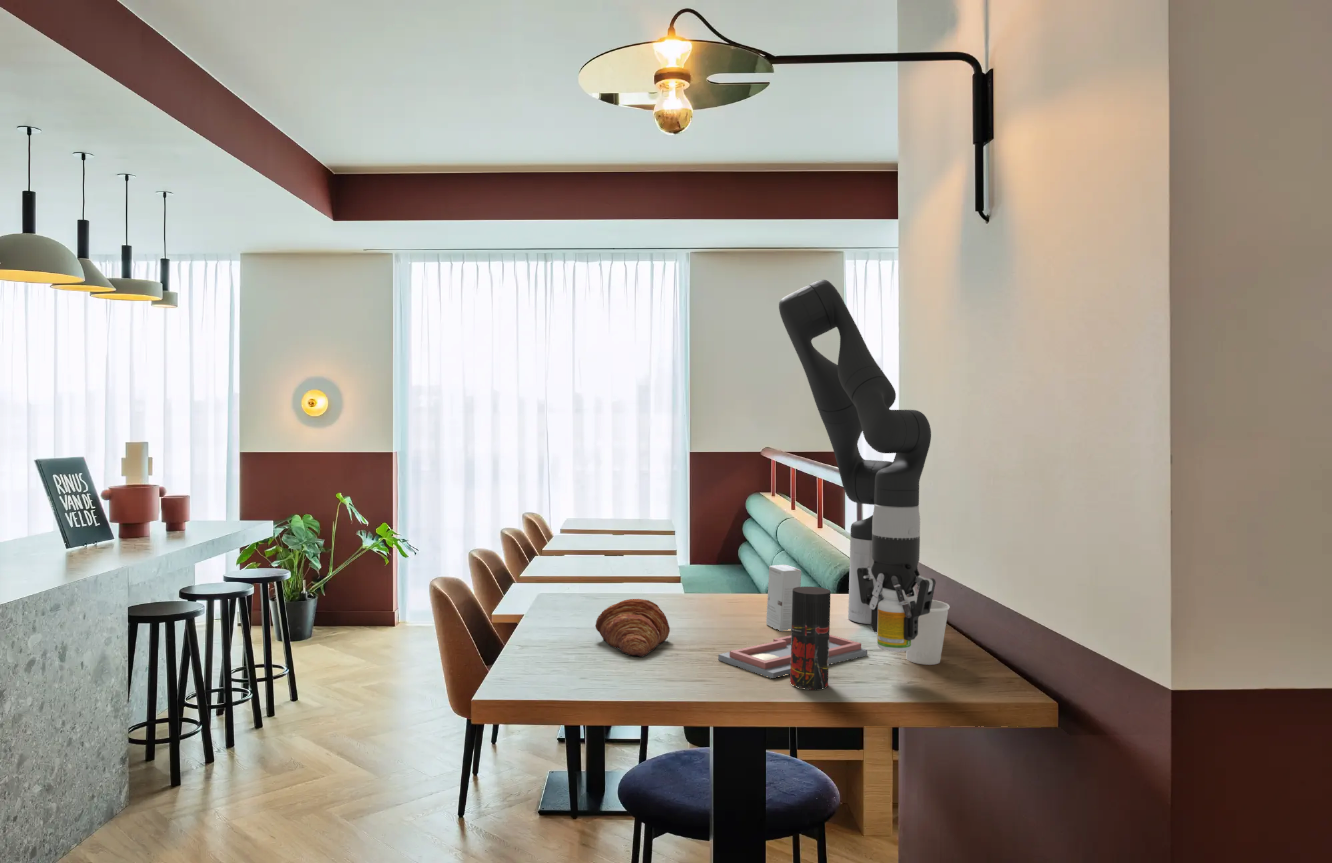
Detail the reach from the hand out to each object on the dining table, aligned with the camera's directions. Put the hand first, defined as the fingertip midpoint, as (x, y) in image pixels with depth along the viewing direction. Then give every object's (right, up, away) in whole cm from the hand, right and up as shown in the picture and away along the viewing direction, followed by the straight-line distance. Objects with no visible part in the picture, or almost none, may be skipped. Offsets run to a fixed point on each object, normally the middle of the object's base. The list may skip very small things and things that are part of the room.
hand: (893, 635), depth 145 cm
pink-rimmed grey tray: (-15, -6, +11) cm, 19 cm away
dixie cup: (+8, -7, +11) cm, 16 cm away
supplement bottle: (0, -2, 0) cm, 2 cm away
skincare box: (-14, -6, +32) cm, 35 cm away
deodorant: (-14, -7, -4) cm, 17 cm away
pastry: (-43, -6, +19) cm, 48 cm away
